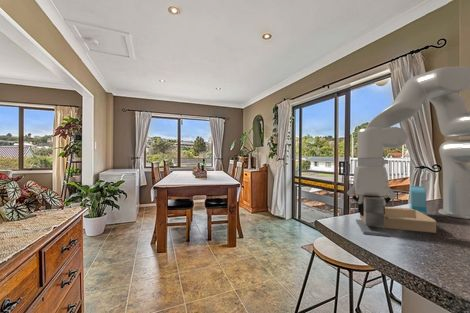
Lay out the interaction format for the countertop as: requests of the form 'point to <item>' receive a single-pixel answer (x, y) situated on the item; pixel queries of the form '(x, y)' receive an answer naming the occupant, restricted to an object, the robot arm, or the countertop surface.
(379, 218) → the walnut box
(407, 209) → the carton
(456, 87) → the robot arm
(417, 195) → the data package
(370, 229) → the mat
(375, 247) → the countertop surface
